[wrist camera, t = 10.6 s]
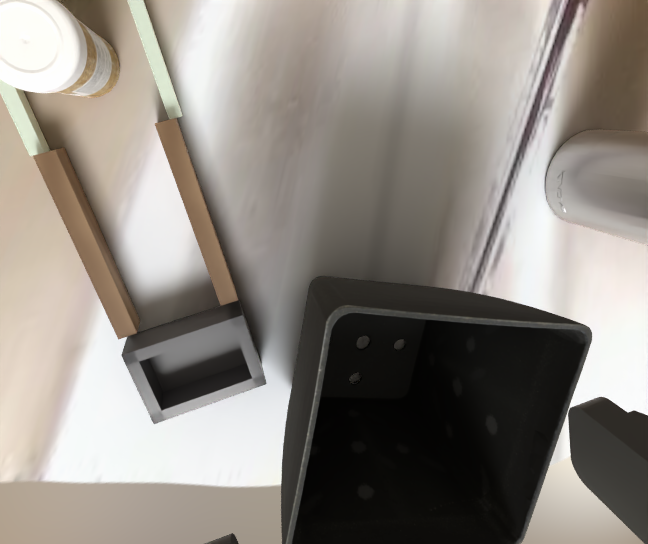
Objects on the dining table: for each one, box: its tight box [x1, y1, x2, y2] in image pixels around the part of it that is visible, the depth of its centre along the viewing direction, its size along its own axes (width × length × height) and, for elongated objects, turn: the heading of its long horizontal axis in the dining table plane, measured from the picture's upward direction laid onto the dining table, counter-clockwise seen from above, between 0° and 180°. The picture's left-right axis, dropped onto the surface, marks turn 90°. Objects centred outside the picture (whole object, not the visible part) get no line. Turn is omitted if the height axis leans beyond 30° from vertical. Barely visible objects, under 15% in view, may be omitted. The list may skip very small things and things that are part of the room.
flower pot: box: [281, 276, 592, 544], centre depth 39 cm, size 19×19×17 cm
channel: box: [33, 118, 238, 339], centre depth 37 cm, size 10×15×2 cm, turn 14°
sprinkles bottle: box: [0, 0, 120, 98], centre depth 28 cm, size 5×5×13 cm
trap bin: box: [122, 300, 266, 424], centre depth 41 cm, size 10×7×4 cm
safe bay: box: [0, 0, 183, 156], centre depth 33 cm, size 11×10×2 cm
